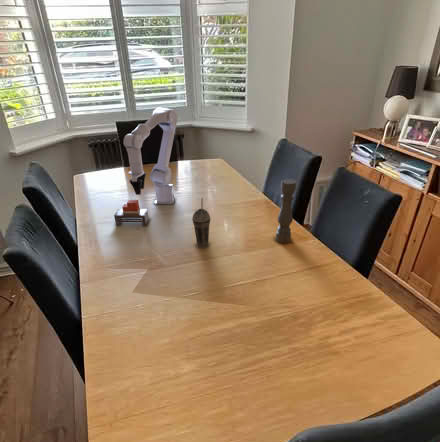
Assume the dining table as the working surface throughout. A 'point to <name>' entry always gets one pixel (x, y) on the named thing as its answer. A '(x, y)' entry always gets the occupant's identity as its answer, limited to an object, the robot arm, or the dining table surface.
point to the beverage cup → (201, 226)
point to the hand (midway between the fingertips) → (140, 191)
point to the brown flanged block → (131, 217)
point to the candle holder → (285, 211)
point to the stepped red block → (131, 207)
